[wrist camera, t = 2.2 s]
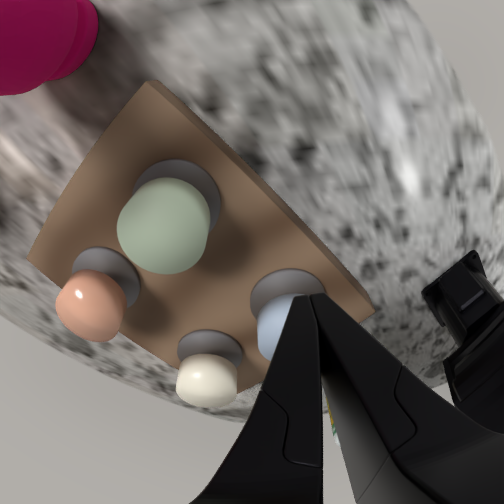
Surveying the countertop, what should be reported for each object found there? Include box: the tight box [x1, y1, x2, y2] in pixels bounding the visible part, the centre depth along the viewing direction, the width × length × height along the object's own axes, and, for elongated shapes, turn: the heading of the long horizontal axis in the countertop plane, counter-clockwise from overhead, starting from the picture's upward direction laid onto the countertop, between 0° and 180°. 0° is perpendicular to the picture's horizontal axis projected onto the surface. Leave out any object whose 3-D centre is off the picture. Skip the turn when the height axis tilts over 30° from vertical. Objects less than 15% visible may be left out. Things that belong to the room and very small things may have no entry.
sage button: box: [117, 177, 210, 274], centre depth 15 cm, size 4×4×2 cm
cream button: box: [176, 354, 237, 408], centre depth 22 cm, size 4×4×2 cm
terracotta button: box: [56, 269, 127, 342], centre depth 18 cm, size 4×4×2 cm
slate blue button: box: [257, 293, 305, 361], centre depth 19 cm, size 4×4×2 cm
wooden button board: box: [26, 80, 376, 394], centre depth 22 cm, size 22×16×3 cm
